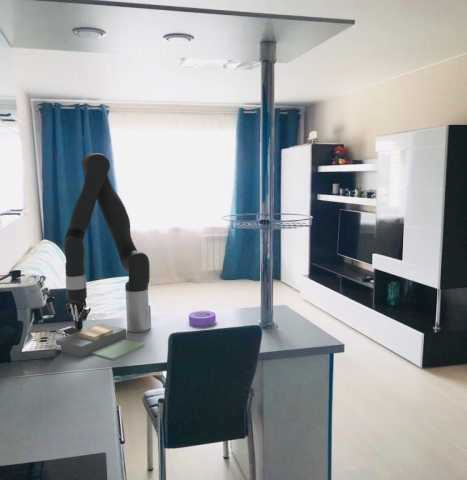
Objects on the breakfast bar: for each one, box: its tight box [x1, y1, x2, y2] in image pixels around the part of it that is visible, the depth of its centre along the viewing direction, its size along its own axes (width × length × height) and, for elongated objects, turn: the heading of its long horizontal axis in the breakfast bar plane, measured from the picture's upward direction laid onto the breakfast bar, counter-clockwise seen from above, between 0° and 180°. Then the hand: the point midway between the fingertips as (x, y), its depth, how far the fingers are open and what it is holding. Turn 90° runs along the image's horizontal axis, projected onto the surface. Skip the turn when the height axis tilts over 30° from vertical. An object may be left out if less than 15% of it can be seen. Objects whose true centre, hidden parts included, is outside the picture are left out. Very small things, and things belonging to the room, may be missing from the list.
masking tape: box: [188, 310, 217, 328], centre depth 205 cm, size 12×12×4 cm
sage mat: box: [91, 338, 146, 361], centre depth 174 cm, size 16×11×1 cm
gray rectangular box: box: [55, 322, 127, 358], centre depth 180 cm, size 22×14×4 cm, turn 148°
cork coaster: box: [78, 325, 113, 341], centre depth 178 cm, size 9×9×2 cm
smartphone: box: [59, 326, 83, 336], centre depth 193 cm, size 7×15×1 cm, turn 55°
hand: (78, 329), depth 184 cm, fingers closed
